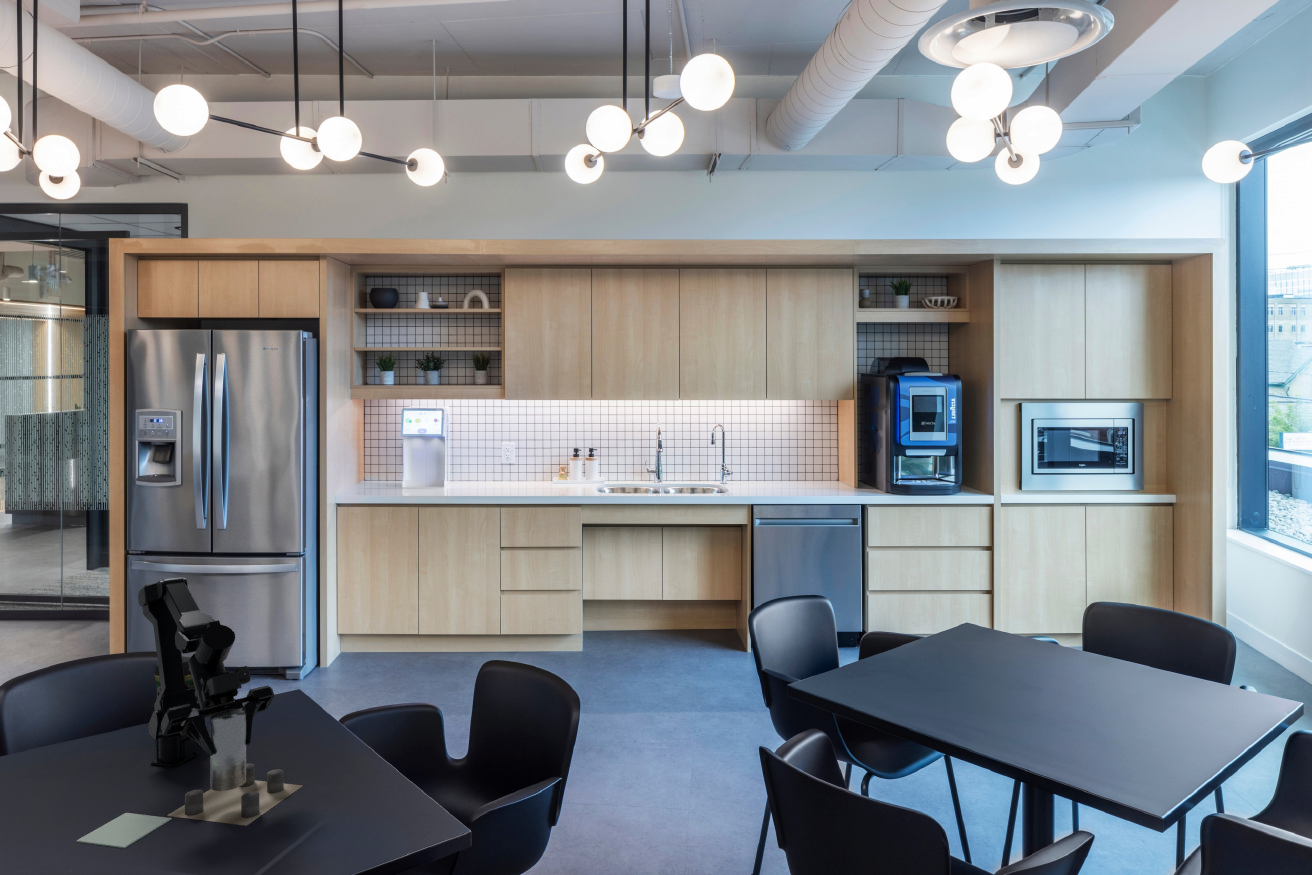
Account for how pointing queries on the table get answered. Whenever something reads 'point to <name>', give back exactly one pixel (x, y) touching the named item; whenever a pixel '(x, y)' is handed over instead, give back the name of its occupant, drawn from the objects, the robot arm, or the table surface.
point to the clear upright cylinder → (228, 750)
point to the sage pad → (124, 830)
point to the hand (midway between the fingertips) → (230, 749)
